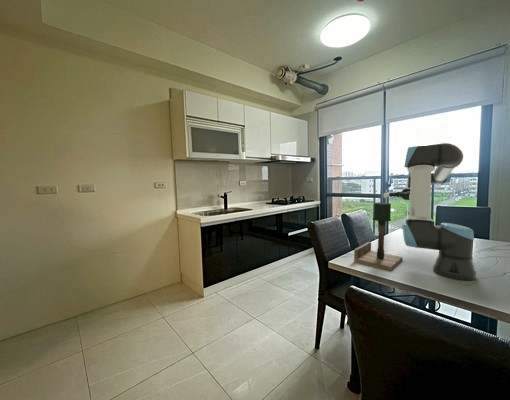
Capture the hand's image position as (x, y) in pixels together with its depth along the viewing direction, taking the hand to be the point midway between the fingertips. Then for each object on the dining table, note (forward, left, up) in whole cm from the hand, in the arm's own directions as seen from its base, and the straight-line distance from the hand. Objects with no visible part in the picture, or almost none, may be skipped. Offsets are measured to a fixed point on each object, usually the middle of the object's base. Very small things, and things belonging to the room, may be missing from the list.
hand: (396, 196), depth 135 cm
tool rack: (-12, +18, -34) cm, 41 cm away
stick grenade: (-13, +17, -33) cm, 39 cm away
